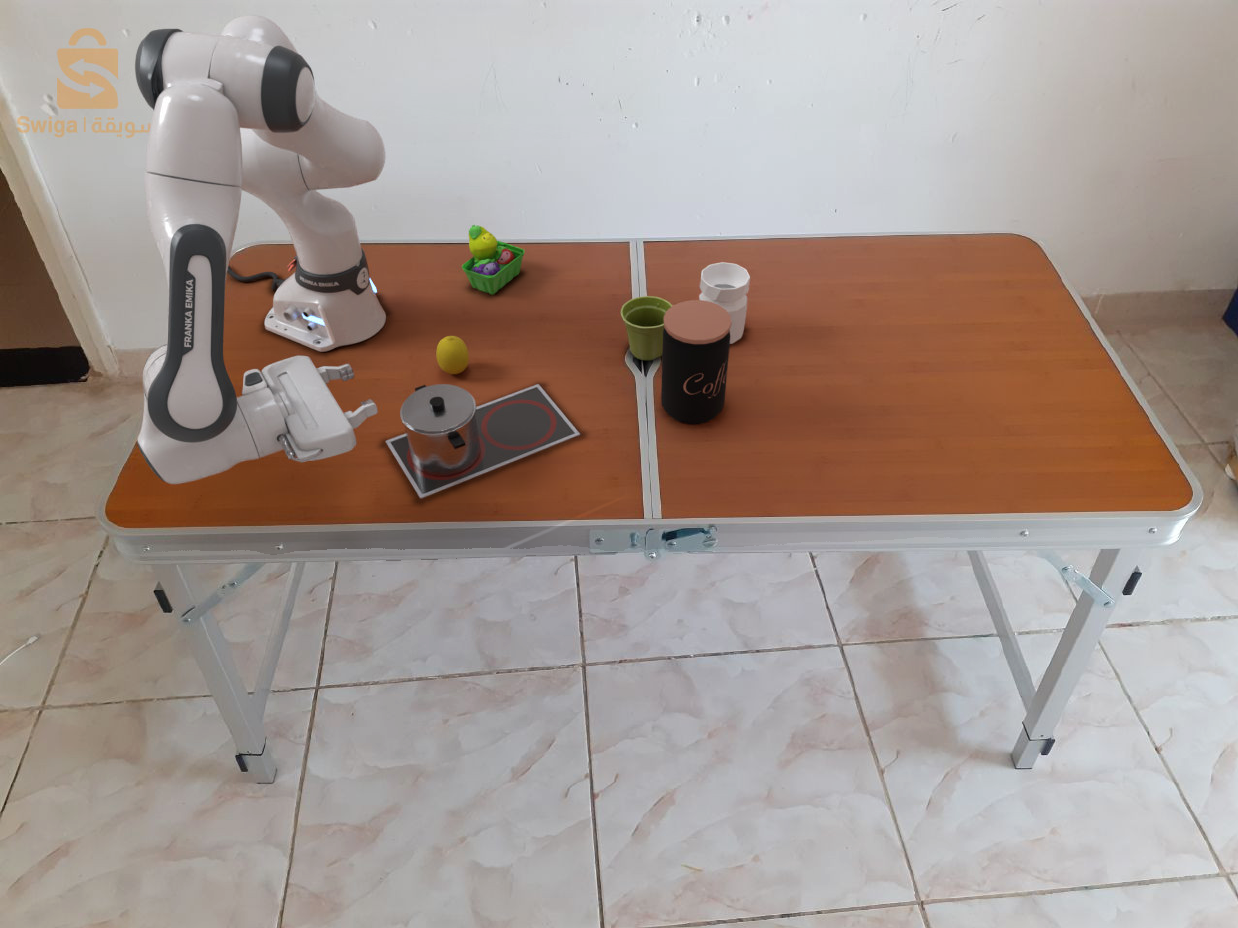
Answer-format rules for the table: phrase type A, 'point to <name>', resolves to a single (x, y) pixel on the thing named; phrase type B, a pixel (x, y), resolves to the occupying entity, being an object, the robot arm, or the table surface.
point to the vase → (727, 292)
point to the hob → (497, 437)
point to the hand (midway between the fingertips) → (363, 387)
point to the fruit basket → (491, 261)
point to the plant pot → (645, 325)
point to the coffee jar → (695, 361)
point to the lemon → (452, 355)
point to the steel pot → (441, 429)
